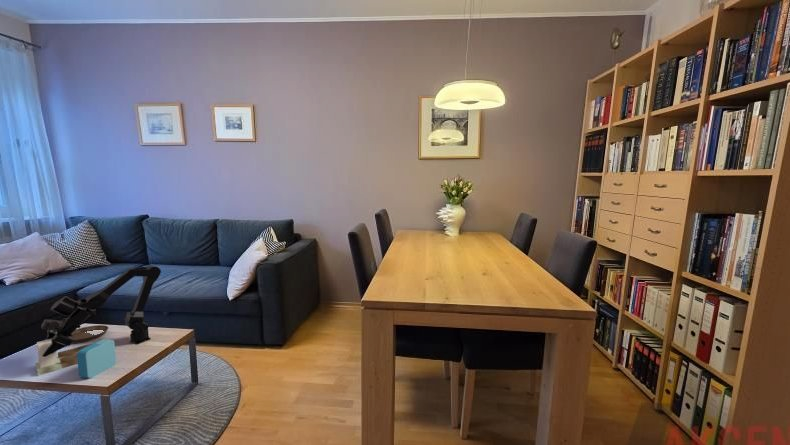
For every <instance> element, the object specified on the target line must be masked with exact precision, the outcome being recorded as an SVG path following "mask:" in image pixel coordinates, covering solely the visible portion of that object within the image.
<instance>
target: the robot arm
mask: <svg viewBox="0 0 790 445" xmlns="http://www.w3.org/2000/svg"><path fill="white" fill-rule="evenodd" d="M161 273H162V270H161V269H160V267H158V266H156V265H154V264H149V265H147V266H139V267H138V266H137V267H129V268H127V269H126V270H125V271H124V272H123V273H121V274H120V275H119V276H117V277H116V278H115V279H114V280H112V281H111V282H109V283H108V284H107V285H106V286H104V287H103V288H101V289H99V290H97V291H95V292H93V293H91V294H89V295H88V296H86V297H85V298H82V299H78V300H74V299H72V298H70V297H68V296H66V295H65V296H63V298H60V299H59V300H57V301H55V303H54V304H52V306H51V307H50V311H53V312H55V313H57V314H60V315H62V316H68V317H67V318H66V317H65V318H63V319H62V320H57V319H49V318H47V319H44V320H43V321H42V323H41V326H40V328H41V329H42V330H47V331H46V332H47V337H46V338H45V340H48V339H51V345H50V346H49V347H48V349H47V350H46V351H45V353H44V354H43V355H42V356H43V357H46V356H48V355H50V354H52V353H54V352H56V353H57V351H58V352H59V351H61V350H62V349H63V348H66V347H70V346H71V345H72V344H74V343H73V339H72V337H71V336H72V333H73V332H74V331H75V330H76V329H80V328H82V326H81V325H82V324H83V323H84V322H85V321H86V320H87V319H88V318H89V317H90V316H93V317H97V309H99V308H101V307H102V306H103V305H104V304H105V303H106V302H107V301H108V300H109V298H110V297H111V296H112V294H114V293H115V292H116V291H117V290H119V289H120V288H122V287H123V286H124V285H125V284H126V283H128V282H129V281H130V280H132V279H133V278H135V277H142V284H141V287H140V290H139V292H138V295H137V298H136V301H135V304H134V306H133V309H132V310H131V311H130V312H129V311H126V316H125V318H124V323H125V325H126V326H127V328H129V329H131V331H130V334H129V338H130V341H129V343H132V344H135V345H138V344H141V343H144V342H146V341H149V340H151V337H149V336H150V335H149V326H150V325H149V324H147V323H146V322H145V321H144V319H145V318H144V315H145V314H144V312H145V308H146V305H147V303H148V300H149V296H150V294H151V291H152V288H153V286H154V284H155V283H156V281H157V280H158V279H159V277H160V276H161ZM52 338H53V339H52Z"/></svg>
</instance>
